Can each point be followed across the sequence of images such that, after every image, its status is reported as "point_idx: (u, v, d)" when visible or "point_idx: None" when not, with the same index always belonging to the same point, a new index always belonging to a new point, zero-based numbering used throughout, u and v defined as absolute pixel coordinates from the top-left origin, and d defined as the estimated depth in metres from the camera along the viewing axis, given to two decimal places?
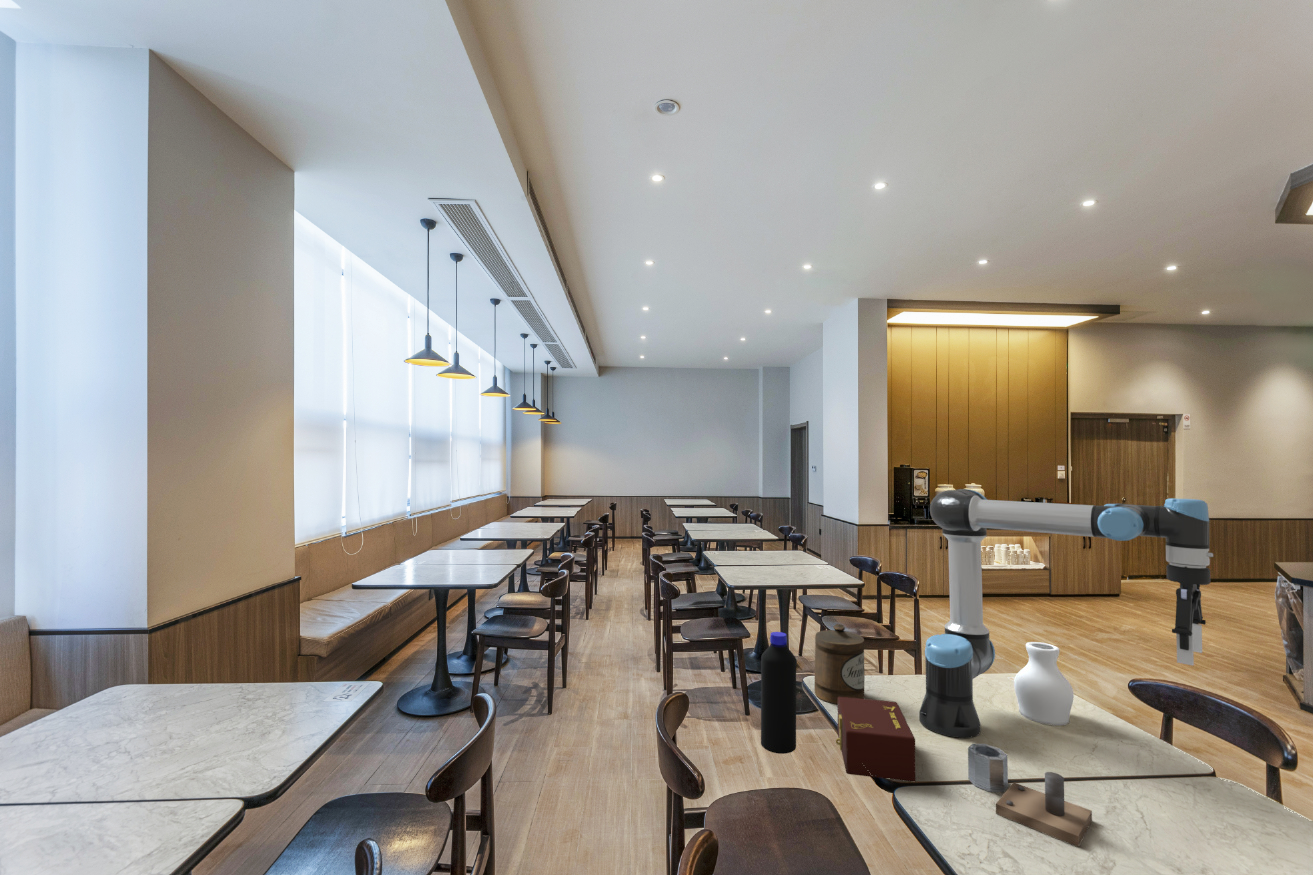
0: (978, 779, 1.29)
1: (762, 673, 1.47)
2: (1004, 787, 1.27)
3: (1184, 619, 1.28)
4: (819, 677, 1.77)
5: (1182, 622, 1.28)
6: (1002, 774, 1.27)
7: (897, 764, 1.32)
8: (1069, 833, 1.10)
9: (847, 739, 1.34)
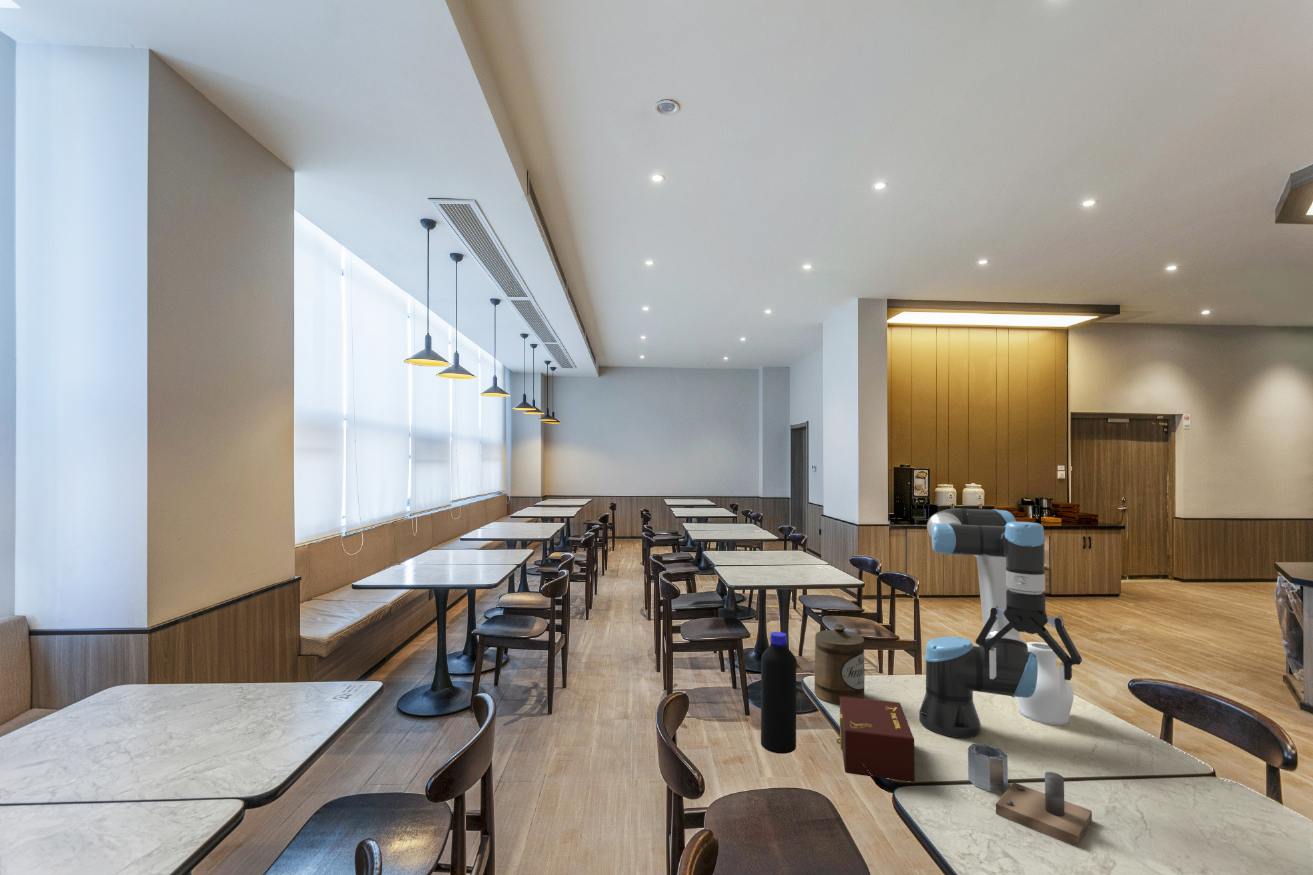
0: (978, 779, 1.29)
1: (762, 673, 1.47)
2: (1004, 787, 1.27)
3: None
4: (819, 677, 1.77)
5: None
6: (1002, 774, 1.27)
7: (896, 764, 1.32)
8: (1069, 833, 1.10)
9: (846, 738, 1.35)
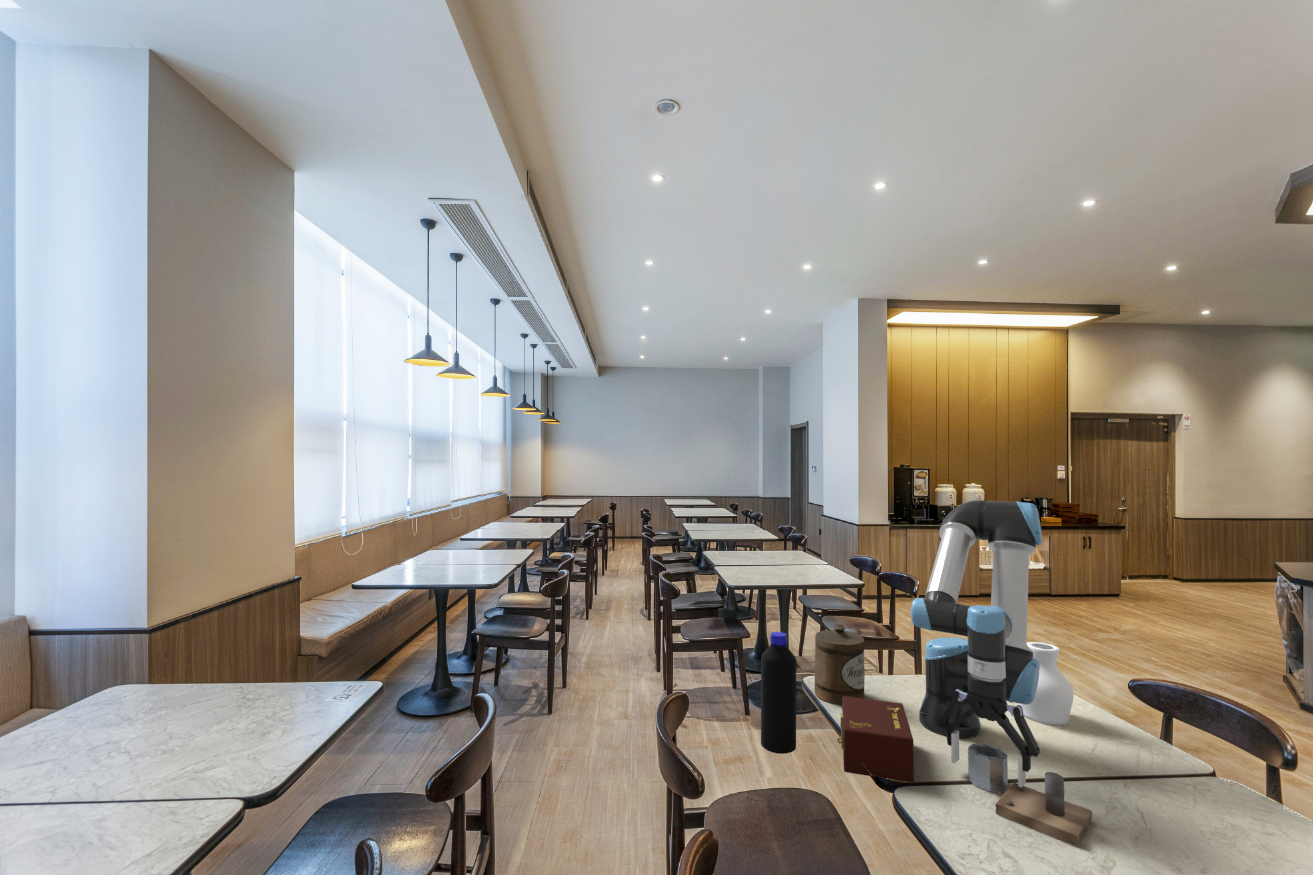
0: (978, 779, 1.29)
1: (762, 673, 1.47)
2: (1004, 787, 1.27)
3: (944, 713, 1.37)
4: (819, 677, 1.77)
5: None
6: (1002, 774, 1.27)
7: (895, 764, 1.31)
8: (1069, 833, 1.10)
9: (844, 737, 1.35)
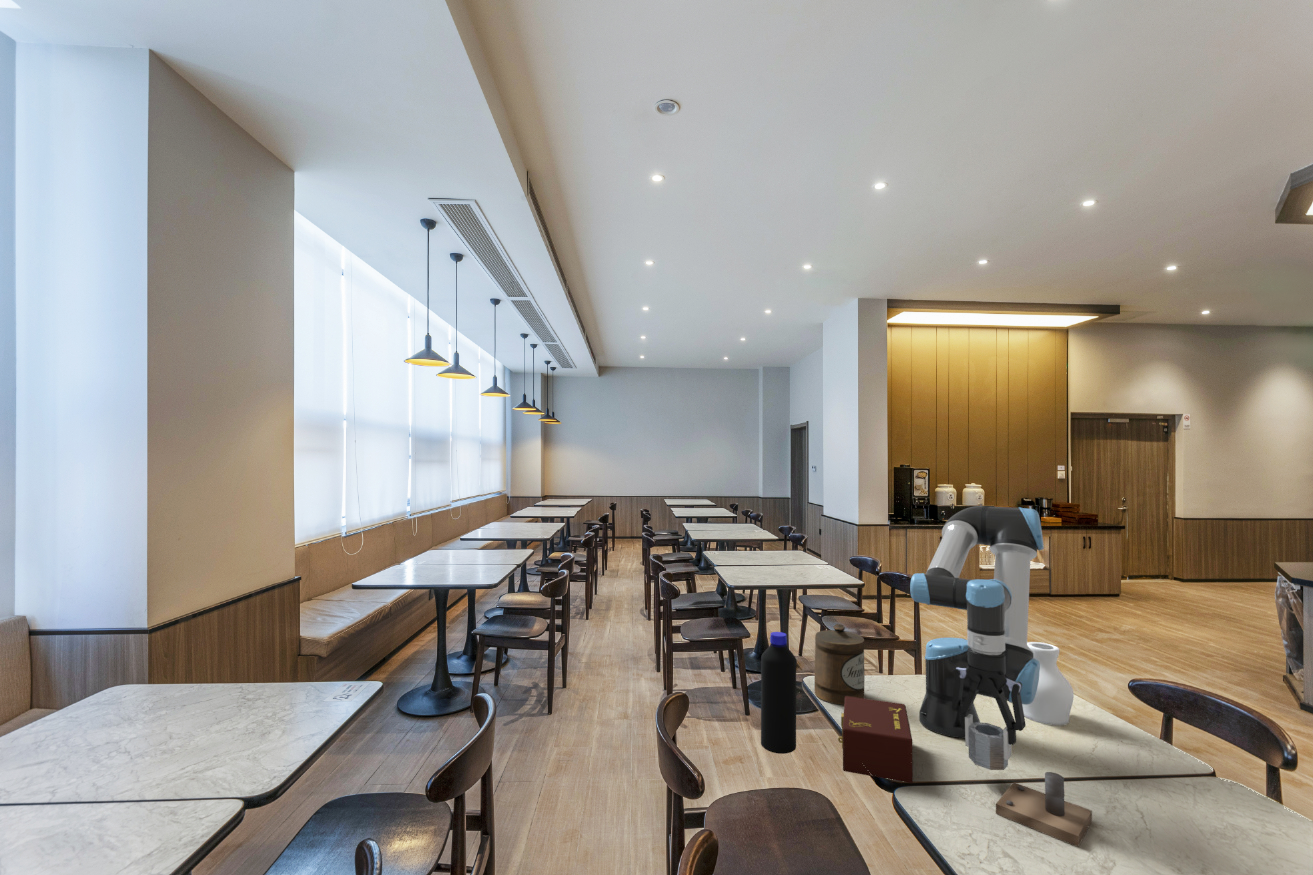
0: (978, 757, 1.29)
1: (762, 673, 1.47)
2: (1004, 765, 1.28)
3: None
4: (819, 677, 1.77)
5: None
6: (1002, 752, 1.28)
7: (894, 764, 1.31)
8: (1069, 833, 1.10)
9: (843, 736, 1.35)
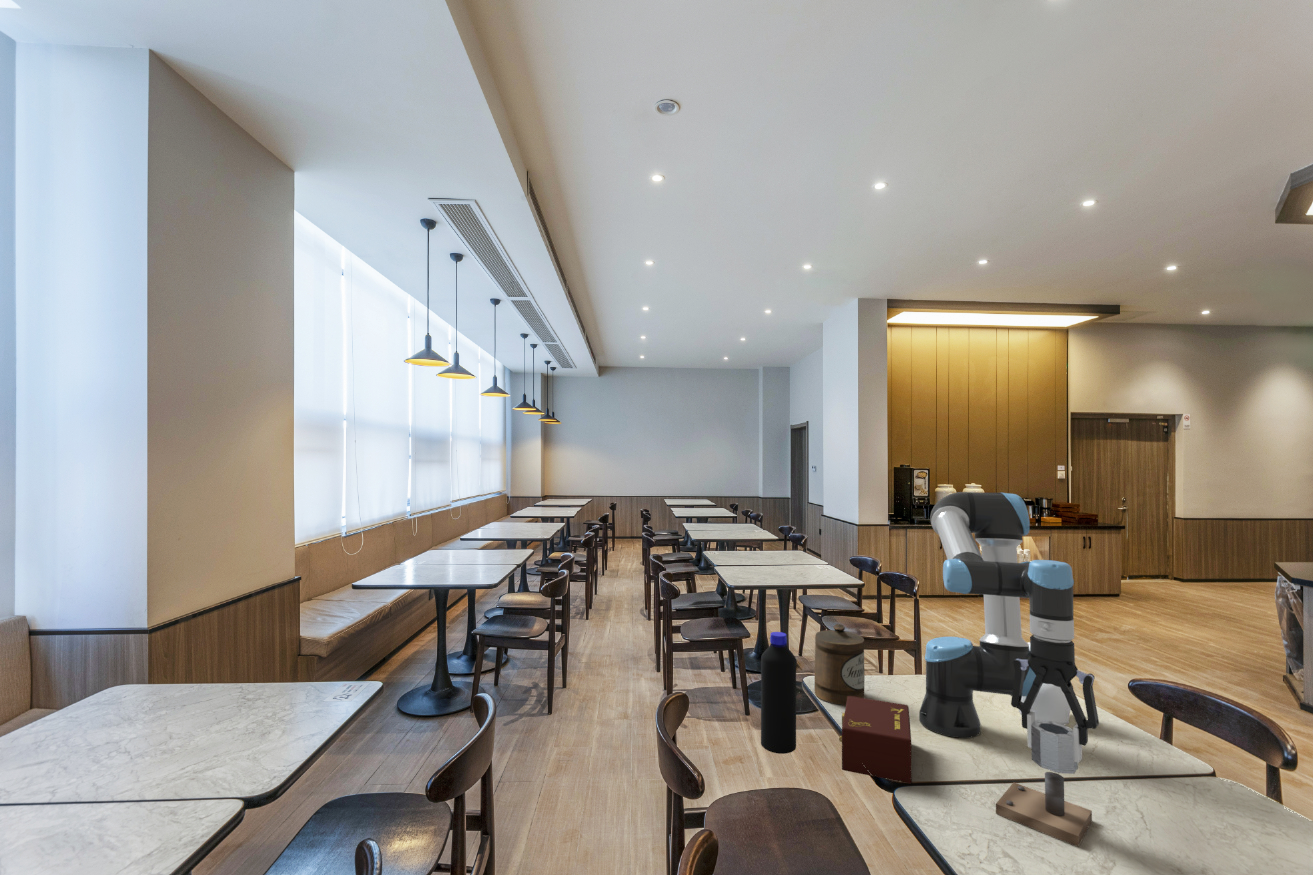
0: (1044, 759, 1.15)
1: (762, 673, 1.47)
2: (1074, 768, 1.13)
3: None
4: (819, 677, 1.77)
5: None
6: (1072, 753, 1.13)
7: (893, 764, 1.31)
8: (1069, 833, 1.10)
9: (842, 736, 1.36)
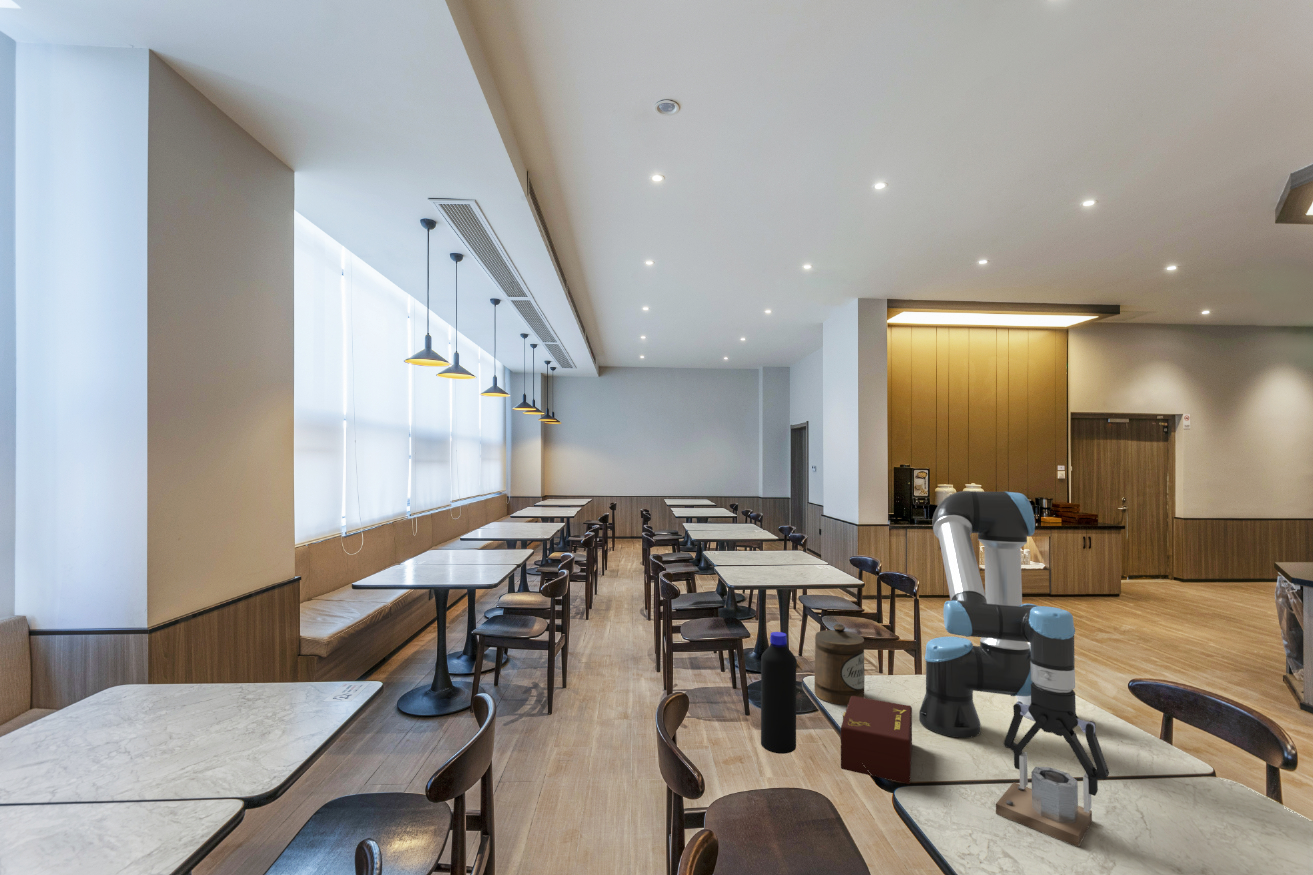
0: (1045, 808, 1.15)
1: (762, 673, 1.47)
2: (1075, 817, 1.13)
3: None
4: (819, 677, 1.77)
5: None
6: (1073, 803, 1.13)
7: (891, 764, 1.31)
8: (1069, 833, 1.10)
9: (841, 735, 1.36)
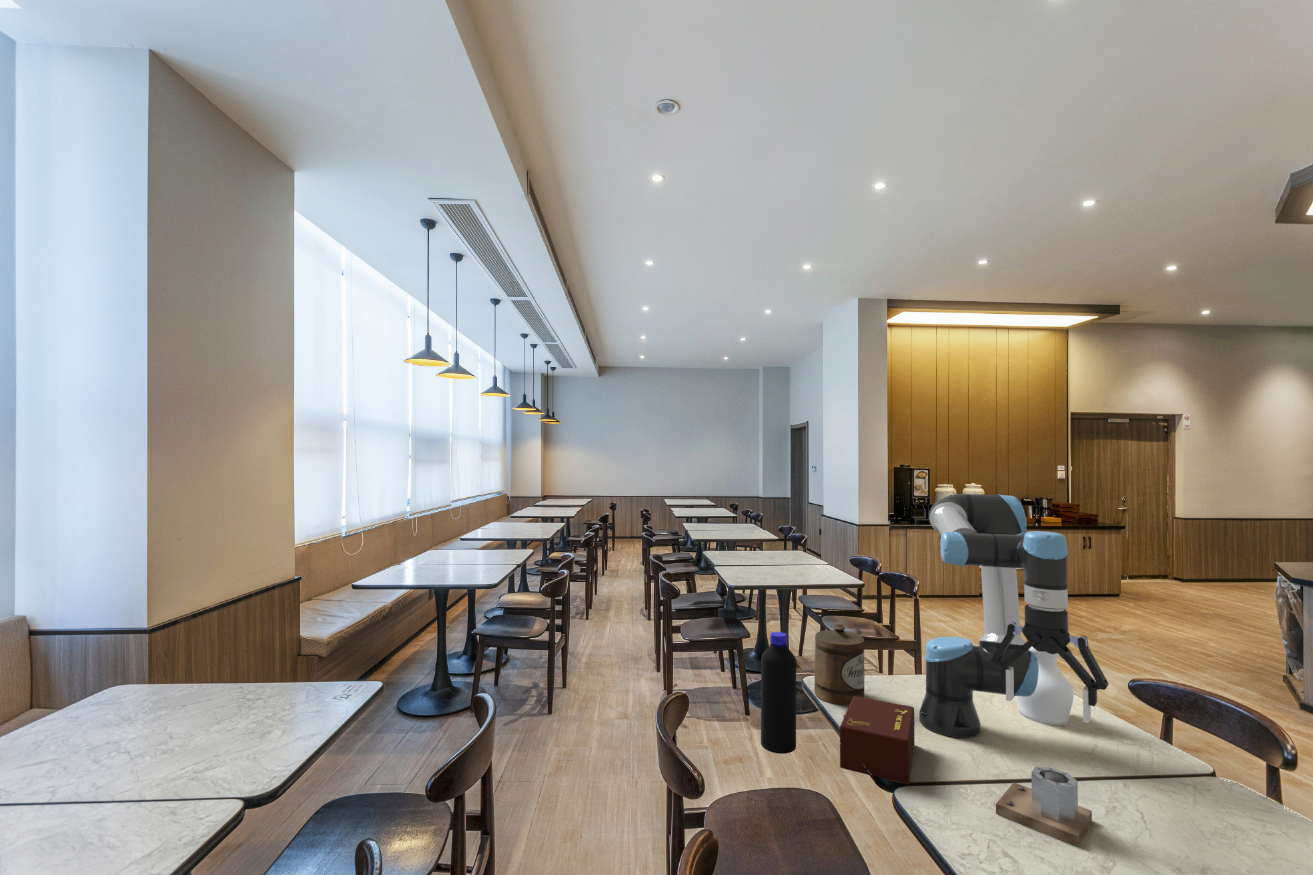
0: (1045, 808, 1.15)
1: (762, 673, 1.47)
2: (1075, 817, 1.13)
3: (997, 649, 1.27)
4: (819, 677, 1.77)
5: None
6: (1073, 803, 1.13)
7: (890, 764, 1.31)
8: (1069, 833, 1.10)
9: (840, 734, 1.37)
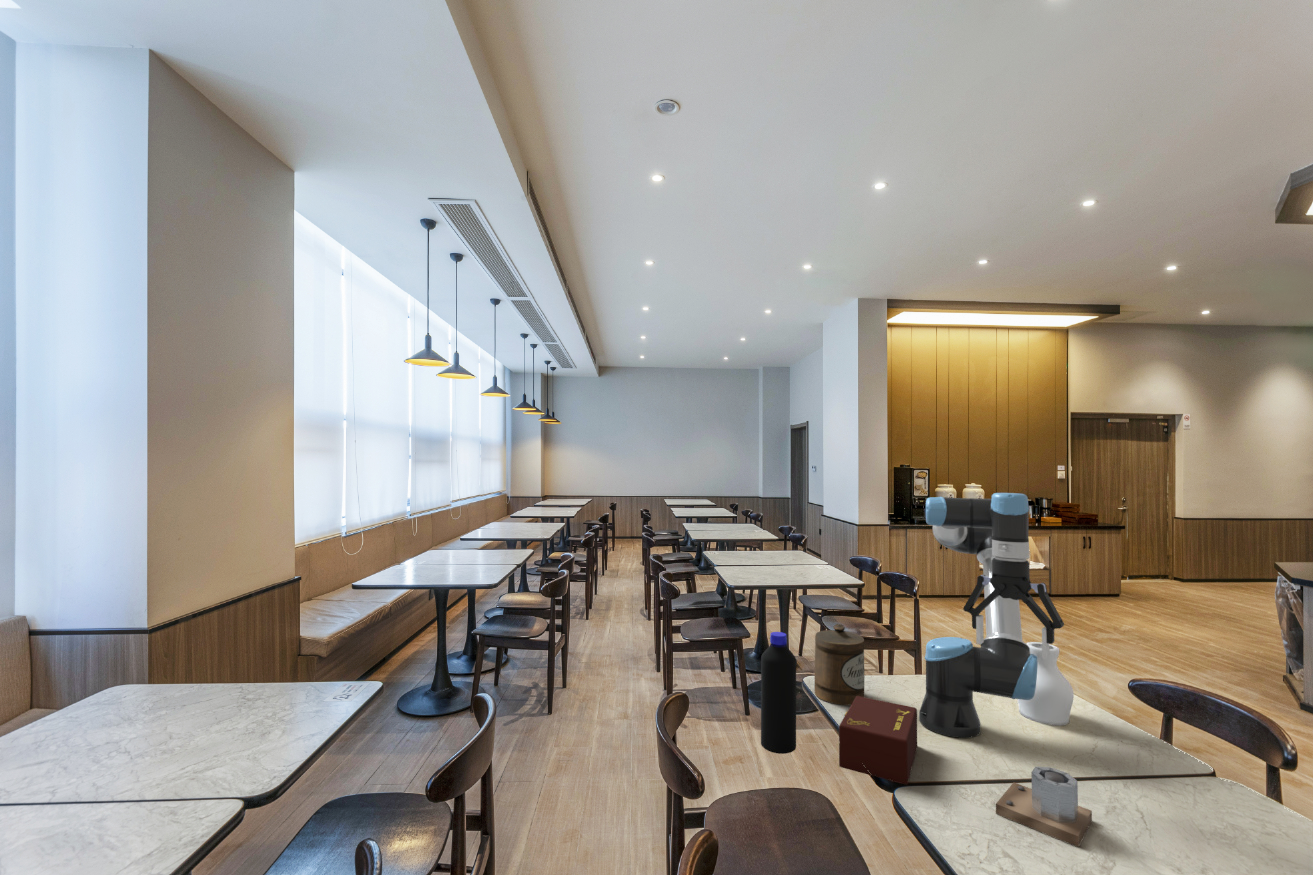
0: (1045, 808, 1.15)
1: (762, 673, 1.47)
2: (1075, 817, 1.13)
3: None
4: (819, 677, 1.77)
5: None
6: (1073, 803, 1.13)
7: (889, 764, 1.31)
8: (1069, 833, 1.10)
9: (839, 733, 1.37)
